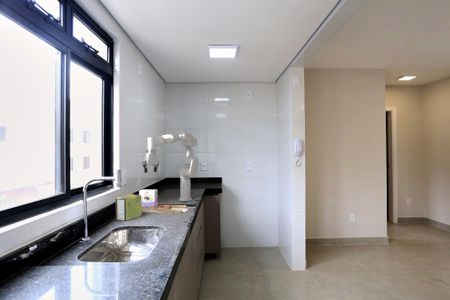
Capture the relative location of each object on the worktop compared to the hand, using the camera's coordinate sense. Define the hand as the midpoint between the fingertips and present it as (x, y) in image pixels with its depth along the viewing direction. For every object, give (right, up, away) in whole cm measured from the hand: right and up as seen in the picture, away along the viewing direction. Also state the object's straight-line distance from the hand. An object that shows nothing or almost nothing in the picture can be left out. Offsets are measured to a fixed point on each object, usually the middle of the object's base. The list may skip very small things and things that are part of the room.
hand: (150, 172), depth 214 cm
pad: (+24, -30, -7) cm, 39 cm away
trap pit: (+12, -30, -6) cm, 33 cm away
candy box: (-1, -31, -4) cm, 31 cm away
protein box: (-8, -31, -26) cm, 41 cm away
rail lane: (+10, -30, -5) cm, 32 cm away
